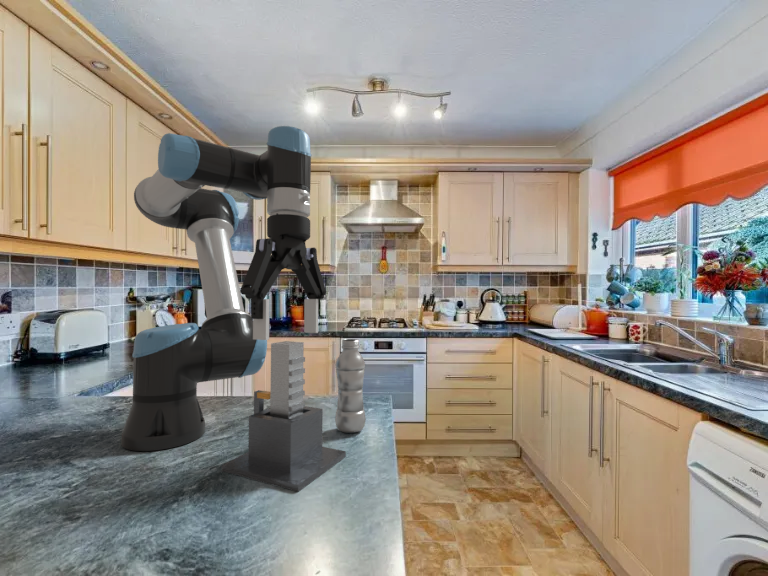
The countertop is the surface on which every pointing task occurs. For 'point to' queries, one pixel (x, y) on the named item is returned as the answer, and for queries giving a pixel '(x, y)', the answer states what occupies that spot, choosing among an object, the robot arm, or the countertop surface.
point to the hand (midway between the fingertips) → (288, 336)
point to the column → (287, 379)
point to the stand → (284, 448)
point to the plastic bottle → (350, 388)
